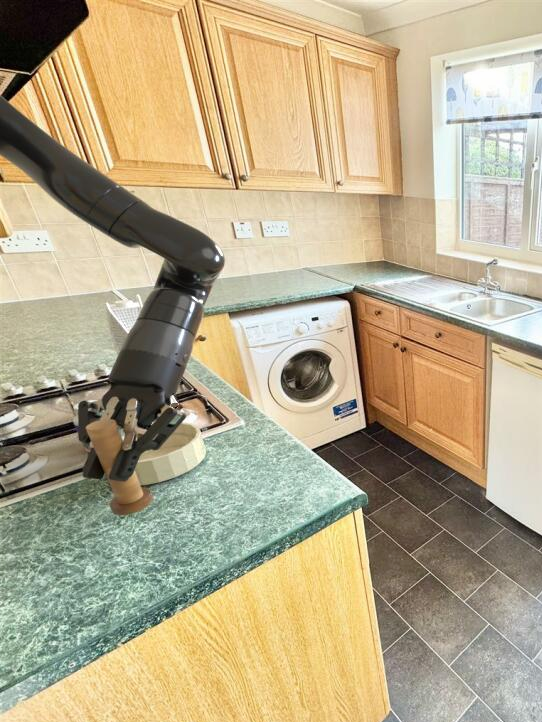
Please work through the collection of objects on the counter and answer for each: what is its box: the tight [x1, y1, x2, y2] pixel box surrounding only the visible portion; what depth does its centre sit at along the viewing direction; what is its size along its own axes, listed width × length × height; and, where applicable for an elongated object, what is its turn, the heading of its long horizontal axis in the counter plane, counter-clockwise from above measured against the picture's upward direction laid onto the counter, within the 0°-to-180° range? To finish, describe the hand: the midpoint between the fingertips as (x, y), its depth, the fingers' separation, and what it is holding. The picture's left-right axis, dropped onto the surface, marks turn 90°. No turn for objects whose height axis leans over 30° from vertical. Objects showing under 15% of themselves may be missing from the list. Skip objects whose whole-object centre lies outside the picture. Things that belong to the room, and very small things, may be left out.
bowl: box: [122, 421, 207, 486], centre depth 80 cm, size 14×14×6 cm
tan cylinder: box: [86, 419, 154, 516], centre depth 56 cm, size 4×4×13 cm
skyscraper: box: [105, 293, 178, 404], centre depth 94 cm, size 8×8×28 cm
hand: (105, 478), depth 54 cm, fingers closed on tan cylinder, 3 cm apart
